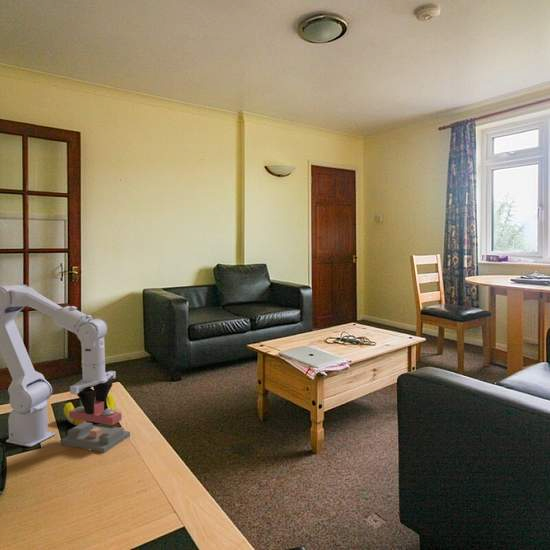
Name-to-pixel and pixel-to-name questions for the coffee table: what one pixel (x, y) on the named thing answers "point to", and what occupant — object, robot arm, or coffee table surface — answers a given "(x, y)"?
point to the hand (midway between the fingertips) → (95, 410)
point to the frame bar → (96, 414)
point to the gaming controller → (69, 406)
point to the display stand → (94, 437)
